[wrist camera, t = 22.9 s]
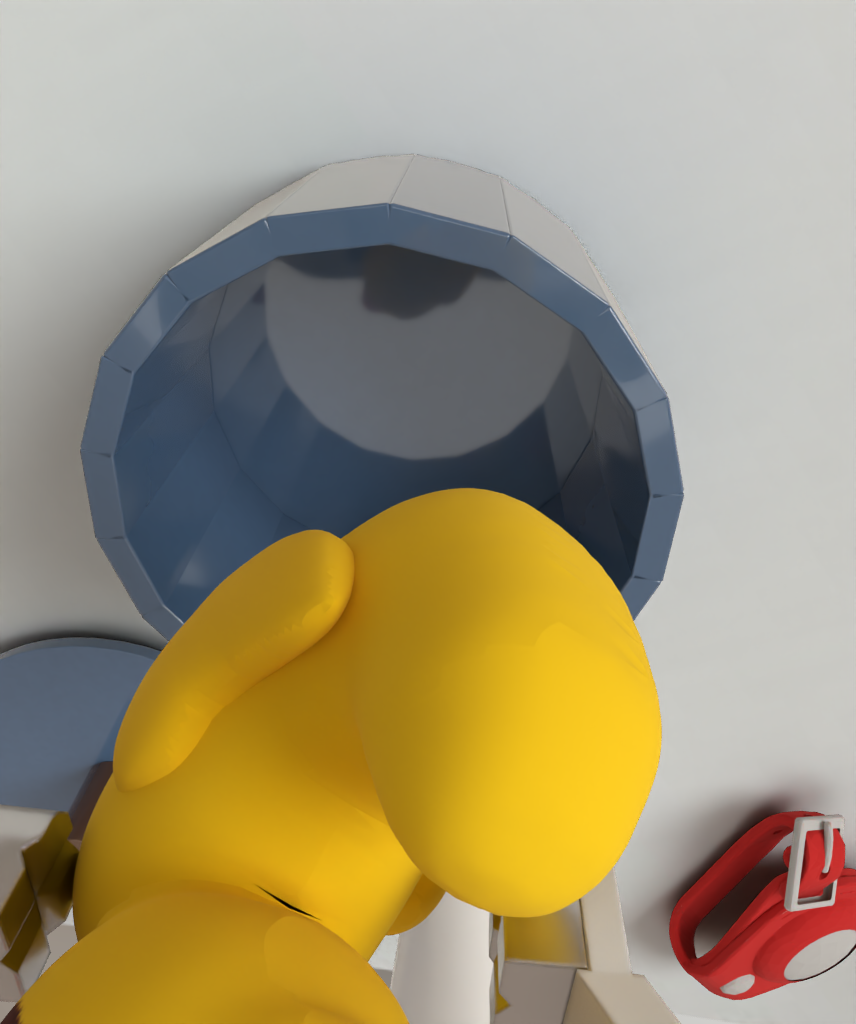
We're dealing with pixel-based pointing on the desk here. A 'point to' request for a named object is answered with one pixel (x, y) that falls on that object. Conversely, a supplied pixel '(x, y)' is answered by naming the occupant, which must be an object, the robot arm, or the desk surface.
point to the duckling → (357, 768)
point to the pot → (374, 383)
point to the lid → (64, 721)
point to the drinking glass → (445, 966)
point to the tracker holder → (774, 909)
